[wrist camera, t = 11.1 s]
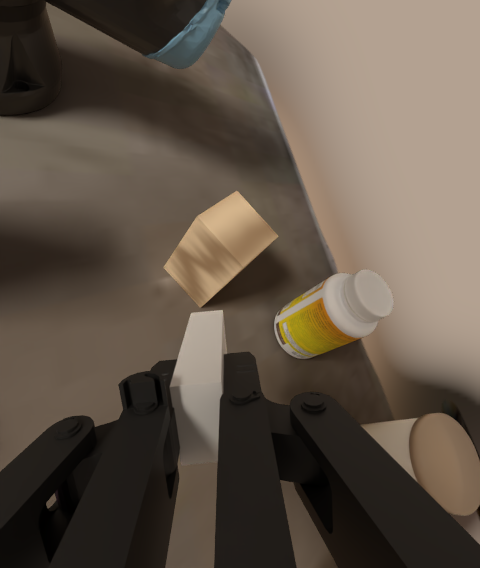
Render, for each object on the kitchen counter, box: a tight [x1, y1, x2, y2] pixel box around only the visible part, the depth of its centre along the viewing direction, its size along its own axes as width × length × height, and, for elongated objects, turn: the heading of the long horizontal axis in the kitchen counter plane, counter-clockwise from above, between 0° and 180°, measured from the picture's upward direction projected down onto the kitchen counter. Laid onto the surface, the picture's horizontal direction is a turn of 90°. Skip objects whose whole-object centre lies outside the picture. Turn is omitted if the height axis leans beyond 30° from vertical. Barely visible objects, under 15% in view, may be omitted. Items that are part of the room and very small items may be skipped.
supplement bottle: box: [274, 269, 394, 359], centre depth 38 cm, size 7×7×13 cm
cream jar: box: [361, 413, 480, 516], centre depth 33 cm, size 7×7×13 cm
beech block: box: [164, 191, 278, 308], centre depth 36 cm, size 6×6×10 cm
